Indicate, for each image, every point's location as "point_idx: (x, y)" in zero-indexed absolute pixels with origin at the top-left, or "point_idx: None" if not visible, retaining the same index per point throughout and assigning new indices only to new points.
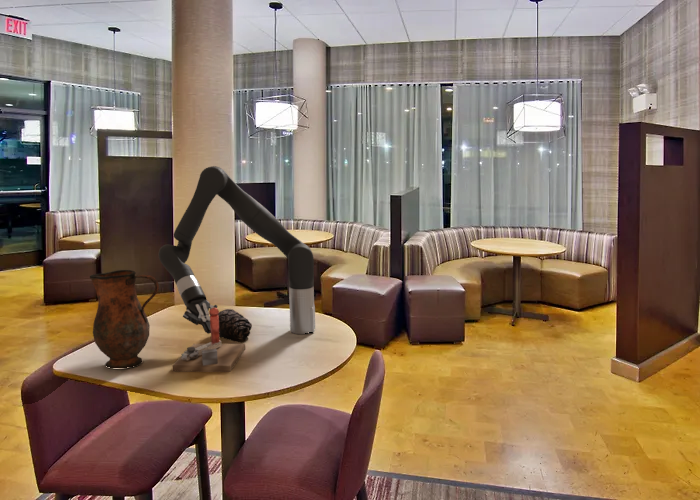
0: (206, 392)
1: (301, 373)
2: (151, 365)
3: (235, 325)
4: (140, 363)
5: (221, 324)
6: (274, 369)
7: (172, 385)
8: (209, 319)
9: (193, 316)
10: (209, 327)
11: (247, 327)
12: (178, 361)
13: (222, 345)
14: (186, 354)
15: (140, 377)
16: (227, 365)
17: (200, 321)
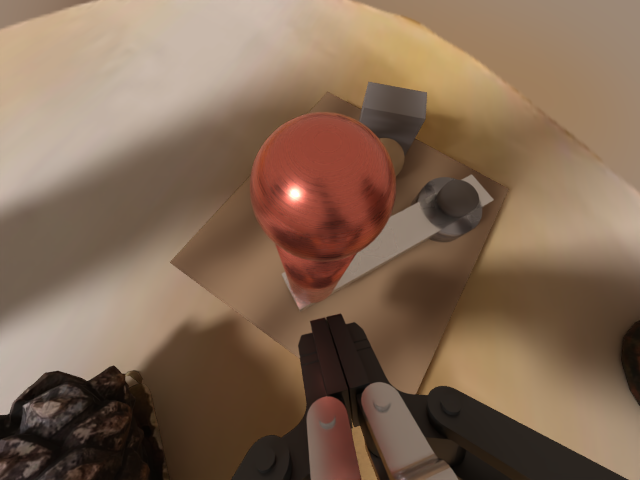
0: (415, 42)
1: (170, 17)
2: (573, 301)
3: (67, 469)
4: (627, 336)
5: None
6: (210, 65)
7: (492, 110)
8: (323, 404)
9: (548, 462)
10: (337, 332)
11: (16, 402)
12: (487, 211)
13: (271, 302)
14: (472, 183)
15: (592, 207)
16: (334, 95)
17: (422, 403)
